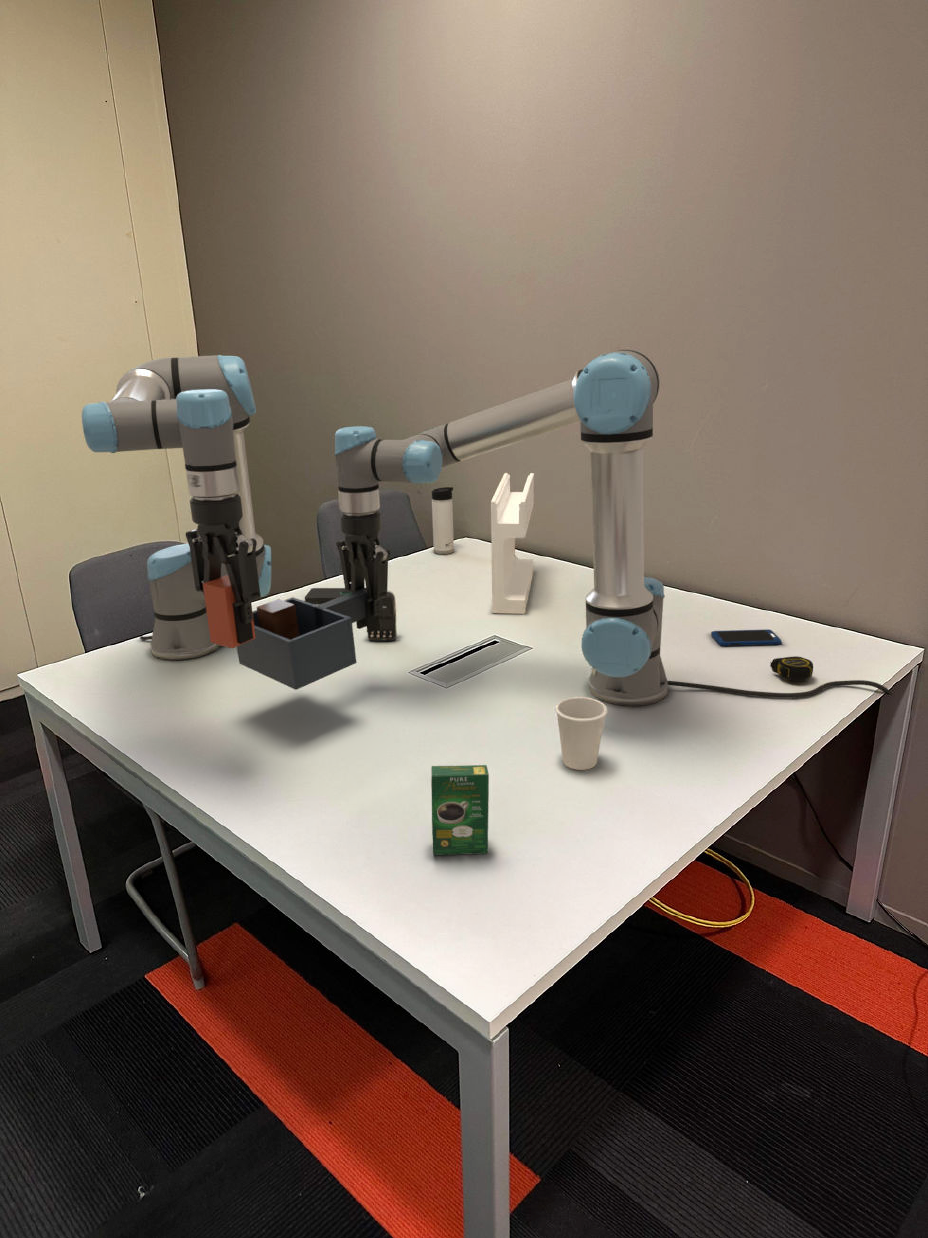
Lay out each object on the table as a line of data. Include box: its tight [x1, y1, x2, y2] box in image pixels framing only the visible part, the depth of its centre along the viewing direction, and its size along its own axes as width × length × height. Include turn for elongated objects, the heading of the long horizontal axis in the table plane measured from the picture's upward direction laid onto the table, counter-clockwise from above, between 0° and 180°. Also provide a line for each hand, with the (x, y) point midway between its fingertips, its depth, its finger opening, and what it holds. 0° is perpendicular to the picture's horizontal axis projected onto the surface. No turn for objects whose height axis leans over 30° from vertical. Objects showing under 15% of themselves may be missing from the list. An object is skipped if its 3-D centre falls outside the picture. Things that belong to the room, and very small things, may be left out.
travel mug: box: [431, 486, 455, 555], centre depth 260 cm, size 6×7×20 cm
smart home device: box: [304, 587, 351, 604], centre depth 224 cm, size 8×2×20 cm
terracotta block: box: [203, 575, 255, 649], centre depth 136 cm, size 5×5×10 cm
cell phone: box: [710, 629, 782, 647], centre depth 191 cm, size 7×14×1 cm, turn 91°
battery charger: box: [367, 590, 398, 642], centre depth 195 cm, size 7×4×11 cm, turn 86°
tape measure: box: [769, 655, 814, 682], centre depth 171 cm, size 7×7×4 cm
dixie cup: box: [555, 696, 608, 771], centre depth 141 cm, size 8×8×10 cm
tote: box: [236, 587, 383, 691], centre depth 160 cm, size 27×18×9 cm, turn 137°
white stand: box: [490, 472, 535, 615], centre depth 222 cm, size 35×8×28 cm, turn 172°
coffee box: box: [430, 764, 490, 856], centre depth 119 cm, size 8×3×13 cm, turn 92°
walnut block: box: [256, 598, 299, 640], centre depth 157 cm, size 5×5×10 cm
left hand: (233, 637), depth 138 cm, fingers closed on terracotta block, 5 cm apart
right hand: (368, 628), depth 168 cm, fingers closed on tote, 2 cm apart
